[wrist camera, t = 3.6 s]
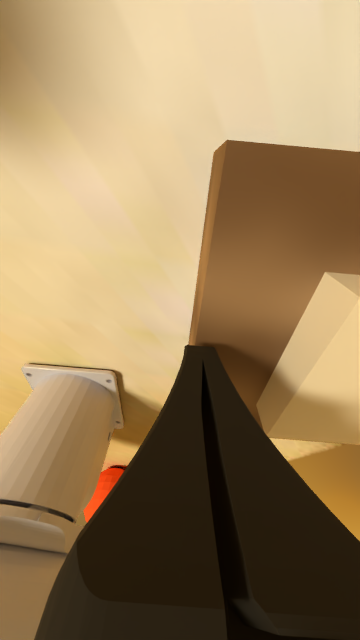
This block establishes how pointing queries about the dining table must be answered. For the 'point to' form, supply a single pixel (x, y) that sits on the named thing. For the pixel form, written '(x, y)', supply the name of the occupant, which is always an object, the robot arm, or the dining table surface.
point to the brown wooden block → (270, 250)
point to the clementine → (102, 490)
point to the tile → (319, 370)
